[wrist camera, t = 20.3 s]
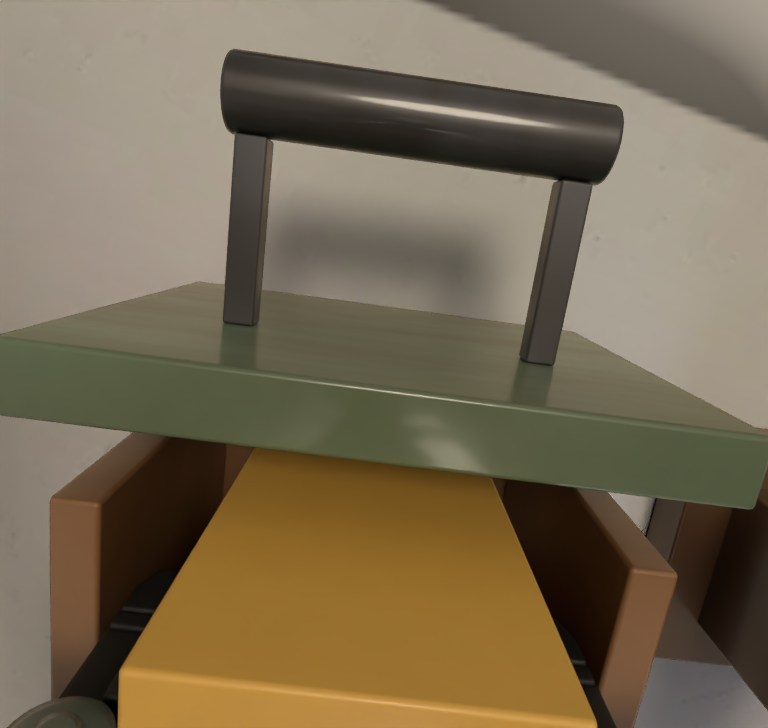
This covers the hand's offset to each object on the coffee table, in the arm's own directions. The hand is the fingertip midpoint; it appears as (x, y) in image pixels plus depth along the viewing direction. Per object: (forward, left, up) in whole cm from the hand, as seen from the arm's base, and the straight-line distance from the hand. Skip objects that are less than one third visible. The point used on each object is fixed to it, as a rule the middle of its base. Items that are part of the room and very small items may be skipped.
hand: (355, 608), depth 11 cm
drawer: (-1, 0, -7) cm, 7 cm away
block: (0, 0, -1) cm, 1 cm away
